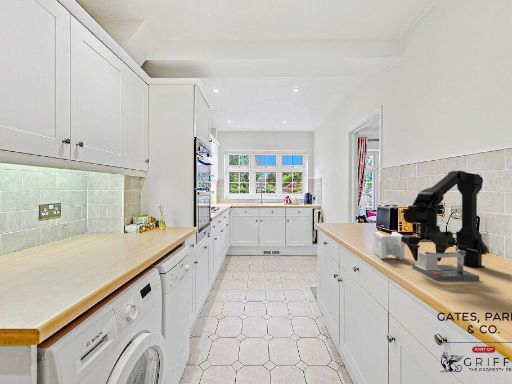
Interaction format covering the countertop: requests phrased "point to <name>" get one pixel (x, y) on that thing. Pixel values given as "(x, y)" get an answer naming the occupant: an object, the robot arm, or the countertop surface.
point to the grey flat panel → (446, 273)
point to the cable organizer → (389, 245)
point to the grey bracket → (458, 254)
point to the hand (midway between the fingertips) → (427, 261)
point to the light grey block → (427, 261)
